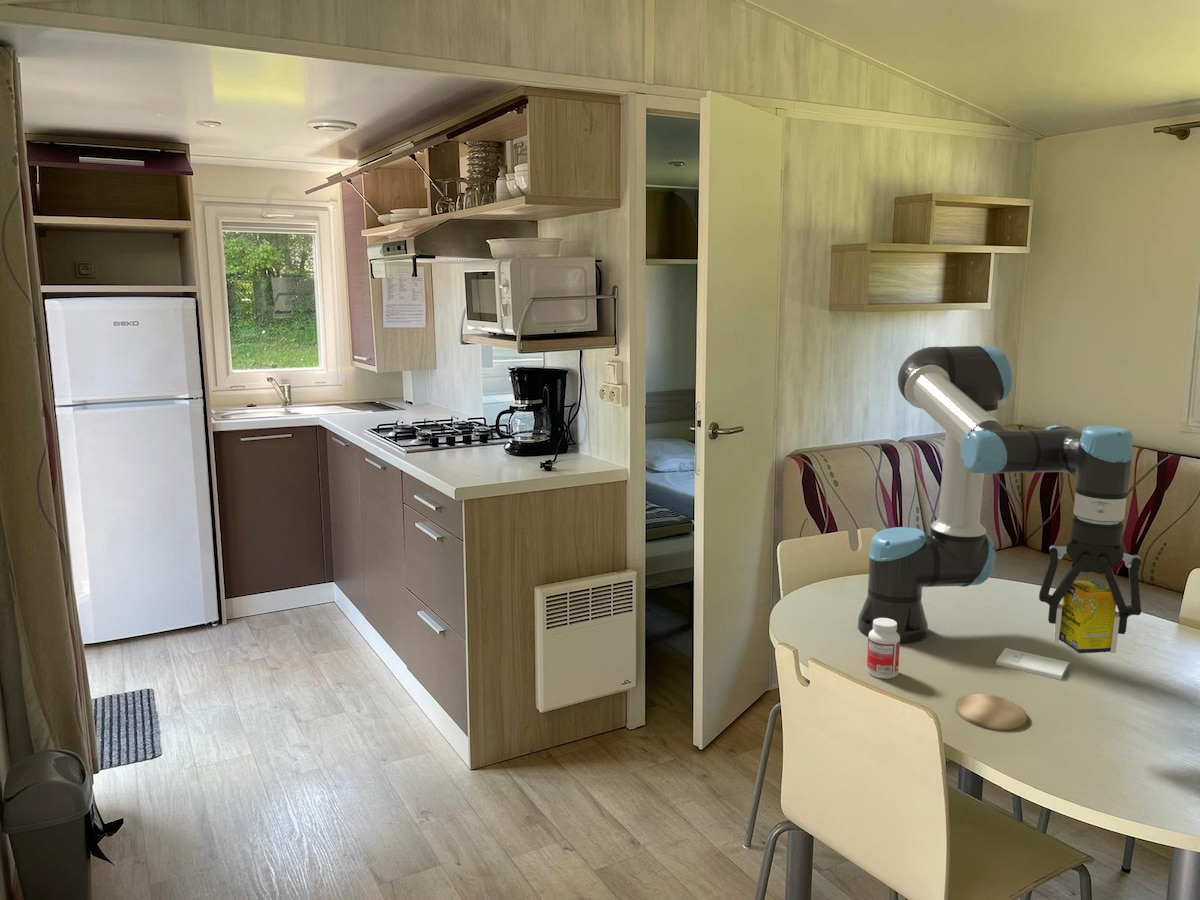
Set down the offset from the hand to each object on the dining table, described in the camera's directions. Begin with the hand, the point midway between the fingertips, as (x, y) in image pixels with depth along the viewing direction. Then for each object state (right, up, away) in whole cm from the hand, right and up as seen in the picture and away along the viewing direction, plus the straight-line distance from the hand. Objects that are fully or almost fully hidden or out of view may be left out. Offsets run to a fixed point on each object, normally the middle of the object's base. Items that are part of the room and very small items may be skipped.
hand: (1083, 645), depth 154 cm
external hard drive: (+6, -12, +31) cm, 34 cm away
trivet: (-12, -15, +11) cm, 22 cm away
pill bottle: (-26, -12, +28) cm, 40 cm away
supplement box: (0, 0, 0) cm, 1 cm away
